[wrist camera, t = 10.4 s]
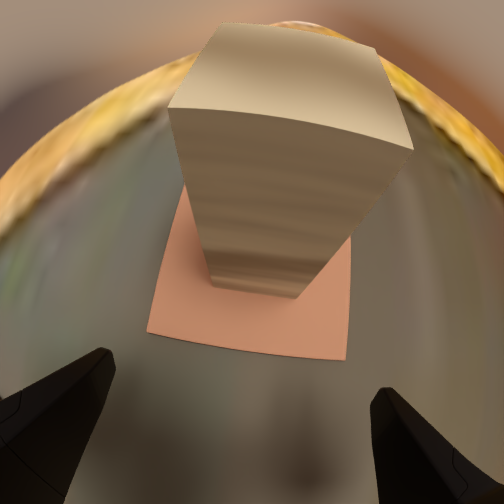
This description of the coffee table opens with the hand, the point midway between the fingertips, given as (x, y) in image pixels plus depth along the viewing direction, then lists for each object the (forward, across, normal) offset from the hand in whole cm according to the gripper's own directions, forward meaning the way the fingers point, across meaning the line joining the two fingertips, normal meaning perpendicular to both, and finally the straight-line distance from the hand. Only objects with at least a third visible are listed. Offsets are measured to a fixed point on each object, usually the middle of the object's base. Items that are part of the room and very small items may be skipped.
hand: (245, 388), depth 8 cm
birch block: (+11, 0, 0) cm, 11 cm away
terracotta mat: (+11, 0, 0) cm, 11 cm away
